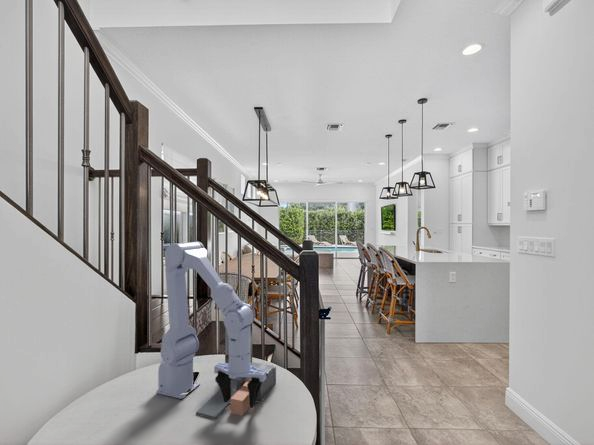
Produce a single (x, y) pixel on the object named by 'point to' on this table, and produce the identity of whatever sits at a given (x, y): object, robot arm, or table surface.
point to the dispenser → (265, 385)
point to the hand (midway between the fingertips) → (239, 403)
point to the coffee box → (228, 345)
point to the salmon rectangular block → (240, 400)
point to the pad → (215, 405)
